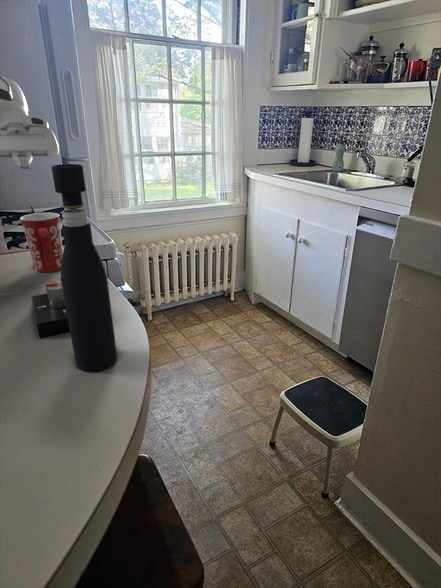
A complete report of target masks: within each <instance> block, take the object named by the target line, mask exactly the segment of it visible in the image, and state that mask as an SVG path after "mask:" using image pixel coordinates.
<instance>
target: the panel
mask: <svg viewBox="0 0 441 588" xmlns="http://www.w3.org/2000/svg"><path fill="white" fill-rule="evenodd" d="M30 299H31V304H32V307H33V313H34V318H35V323H36V329H37V332H38V338H39V340H41V339H45V338H50V337H55V336H59V335H63V334H68V333H69V334H70V328H69V323H68V317H67V312H66V307H65V308H59V309H57V308H52V307H50V305H49V300H48V295H47V293H42V294H37V295H31V296H30Z"/></svg>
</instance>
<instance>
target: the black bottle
mask: <svg viewBox="0 0 441 588" xmlns="http://www.w3.org/2000/svg"><path fill="white" fill-rule="evenodd" d="M51 171H52V179H53V185H54V191H55V193H57V194H61V200H62V207H63V209H64V210H62V211H61V212H62V214H61V217H62V218H63V219H62V222H63V224H62V225H61V232H62V236H63V237H62V238H63V243H64V247H63V257H62V262H61V269H60V280H61V284H62V289H63V295H64V300H65V306H66V312H67V317H68V323H69V328H70V332H69V334H70V340H71V344H72V350H73V356H74V362H75V366H76V368H77V369H78V370H79V371H82V372H86V373H98V372H103V371H105V370H108V369H110V368H111V367H112V366H114V365H115V363H116V362H118V361H117V360H118V352H117V344H116V338H115V337H116V336H115V328H114V320H113V312H112V305H111V297H110V296H111V295H110V287H109V282H108V280H109V279H108V274H107V271H106V268H105V265H104V262H103V260H102V256H100V252H99V251H98V250H97V248H96V245H95V243H94V240H93V239H94V238H93V233H92V224H91V223H90V222H88V221H89V218H88V217H87V216H88V213H87V210H86V208H83V207H84V202H83V194H82V193H84V192H86V191H87V187H86V178H85V171H84V165H83V164H79V163H78V164H77V163H64V164H54V165H51Z"/></svg>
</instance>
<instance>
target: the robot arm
mask: <svg viewBox="0 0 441 588" xmlns="http://www.w3.org/2000/svg"><path fill="white" fill-rule="evenodd" d="M59 154H60V148H59V143H58V141H57V138H56V135H55V133H54V132H53V130H51V129H50V127H49V123H48V120H47V119H43V118H39V117H35V116H32V115H29V107H28V103H27V100H26V97H25V95H24V92H23V90H22V89H21V87H20V85H19V84H18V83H17V82H16V81H15V80H13V79H11V78H10V77H4V76H0V159H12V161H13V162H14V163H16V165H18V169H19V170H29V169H31V164H32V161H33V158H49V157H50V158H51V157H52V158H54V157H57V156H59ZM20 158H21V159H20Z"/></svg>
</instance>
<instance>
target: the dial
mask: <svg viewBox="0 0 441 588" xmlns="http://www.w3.org/2000/svg"><path fill="white" fill-rule="evenodd" d="M45 289H46V294H47V295H48V300H49V305H50V307H52V308H57V309H59V308H65V307H66V306H65V300H64V295H63V289H62V284H61V279H59V280H58V279H57V280H53V281H50V282H46V283H45Z"/></svg>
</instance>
